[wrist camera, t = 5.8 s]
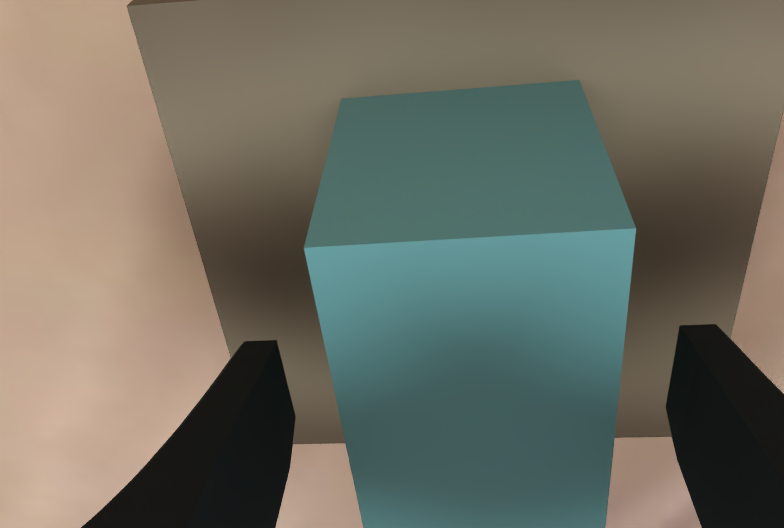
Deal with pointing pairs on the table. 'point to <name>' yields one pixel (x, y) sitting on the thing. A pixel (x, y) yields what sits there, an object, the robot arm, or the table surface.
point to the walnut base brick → (464, 71)
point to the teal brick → (474, 305)
